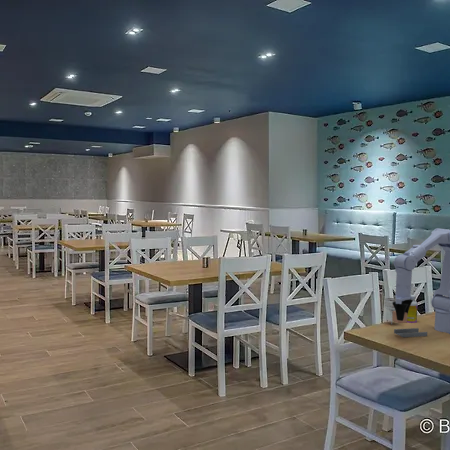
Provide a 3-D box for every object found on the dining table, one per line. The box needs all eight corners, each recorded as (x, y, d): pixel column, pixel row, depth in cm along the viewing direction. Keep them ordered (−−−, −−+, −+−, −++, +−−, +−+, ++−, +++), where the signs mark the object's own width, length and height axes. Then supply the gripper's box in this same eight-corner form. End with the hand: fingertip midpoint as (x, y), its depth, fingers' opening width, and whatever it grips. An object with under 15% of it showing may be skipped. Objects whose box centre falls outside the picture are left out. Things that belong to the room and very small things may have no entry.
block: (401, 310, 205) (392, 310, 204) (407, 312, 201) (398, 313, 200) (400, 320, 205) (392, 320, 204) (406, 322, 201) (398, 323, 200)
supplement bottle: (417, 325, 224) (419, 297, 223) (402, 324, 225) (403, 296, 225) (415, 322, 231) (416, 294, 230) (400, 321, 232) (401, 293, 231)
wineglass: (381, 324, 225) (383, 297, 225) (397, 325, 225) (398, 298, 224) (385, 328, 219) (386, 301, 218) (401, 329, 218) (402, 301, 217)
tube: (417, 334, 210) (417, 328, 210) (427, 338, 204) (427, 332, 204) (393, 335, 207) (394, 329, 207) (402, 340, 201) (403, 333, 201)
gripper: (409, 289, 193) (408, 324, 194) (418, 283, 205) (416, 316, 206) (391, 286, 197) (389, 321, 197) (400, 281, 209) (398, 314, 210)
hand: (402, 318), depth 202 cm, fingers closed on block, 6 cm apart
